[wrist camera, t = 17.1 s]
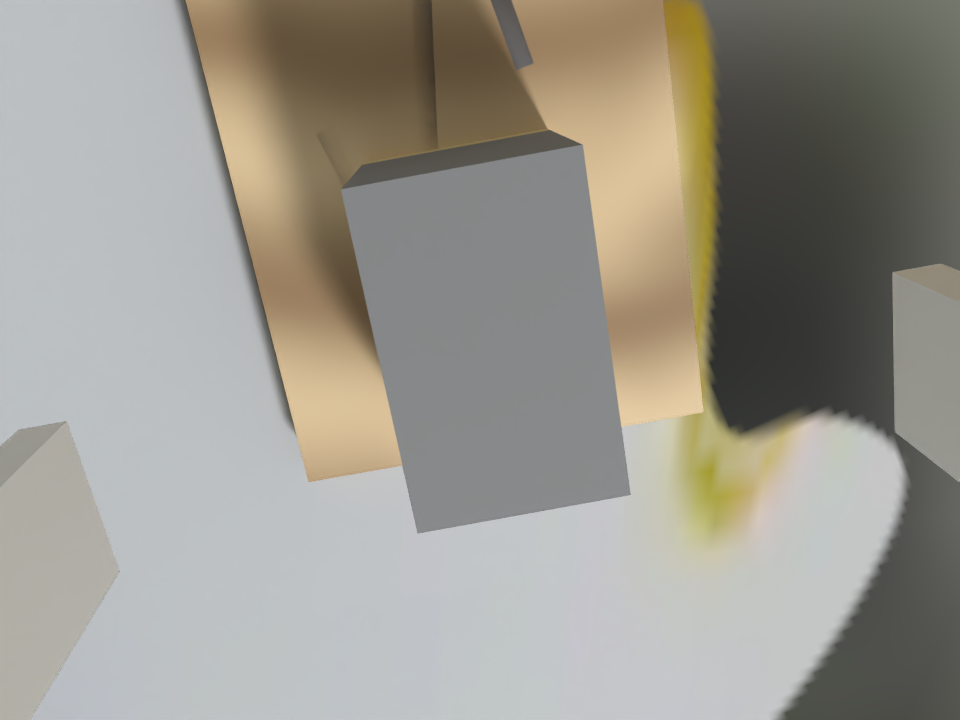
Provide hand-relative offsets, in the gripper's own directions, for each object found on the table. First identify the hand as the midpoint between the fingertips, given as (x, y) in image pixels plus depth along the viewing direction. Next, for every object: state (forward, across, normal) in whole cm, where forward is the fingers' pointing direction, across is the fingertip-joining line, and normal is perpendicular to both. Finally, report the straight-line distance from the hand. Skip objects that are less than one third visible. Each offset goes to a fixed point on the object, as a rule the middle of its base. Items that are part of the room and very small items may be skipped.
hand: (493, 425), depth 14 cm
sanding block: (+11, 0, -1) cm, 11 cm away
